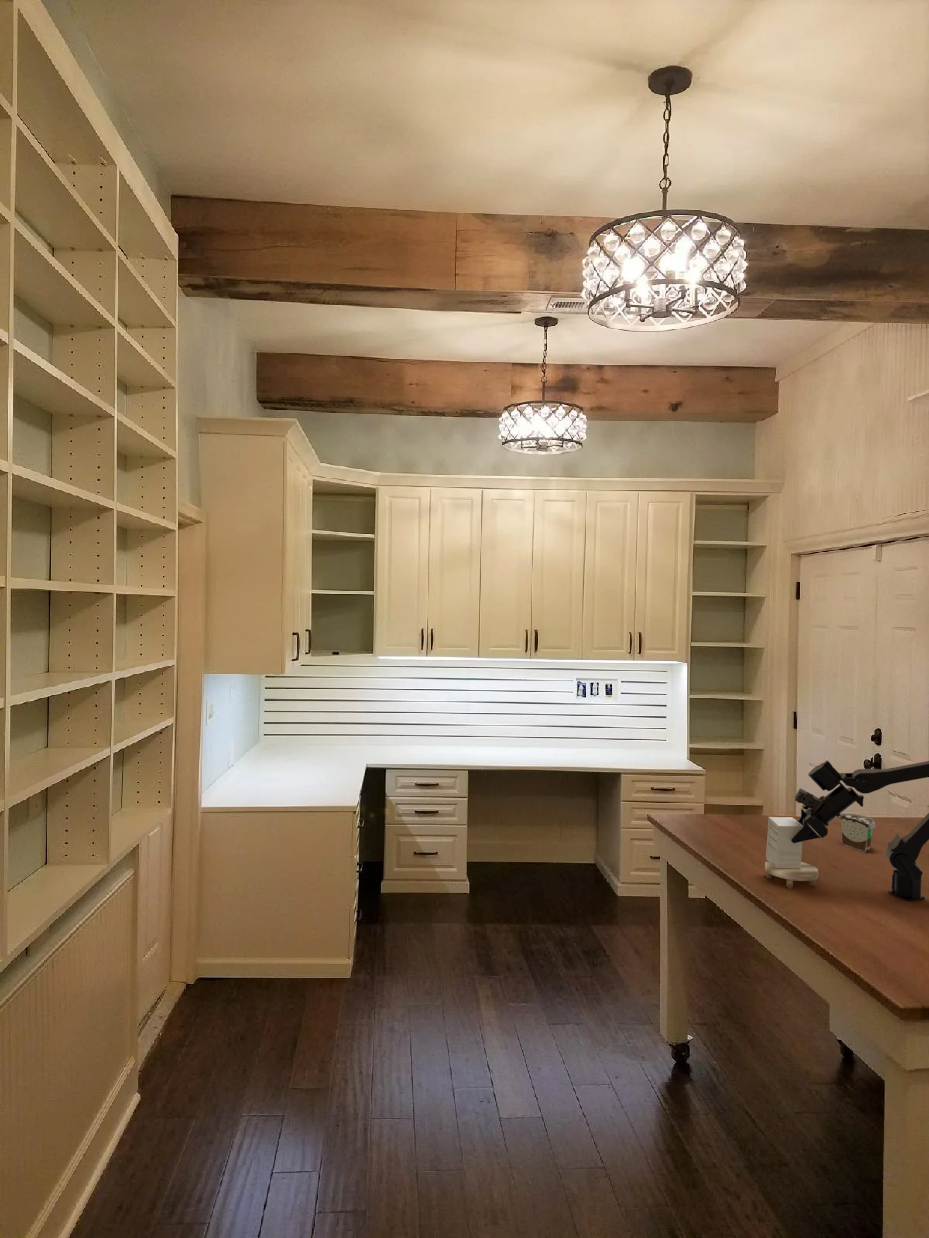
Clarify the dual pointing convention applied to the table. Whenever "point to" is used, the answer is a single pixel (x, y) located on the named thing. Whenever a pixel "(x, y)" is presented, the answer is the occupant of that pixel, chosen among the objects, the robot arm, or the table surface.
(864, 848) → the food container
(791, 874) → the stool
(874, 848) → the table surface
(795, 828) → the supplement box
